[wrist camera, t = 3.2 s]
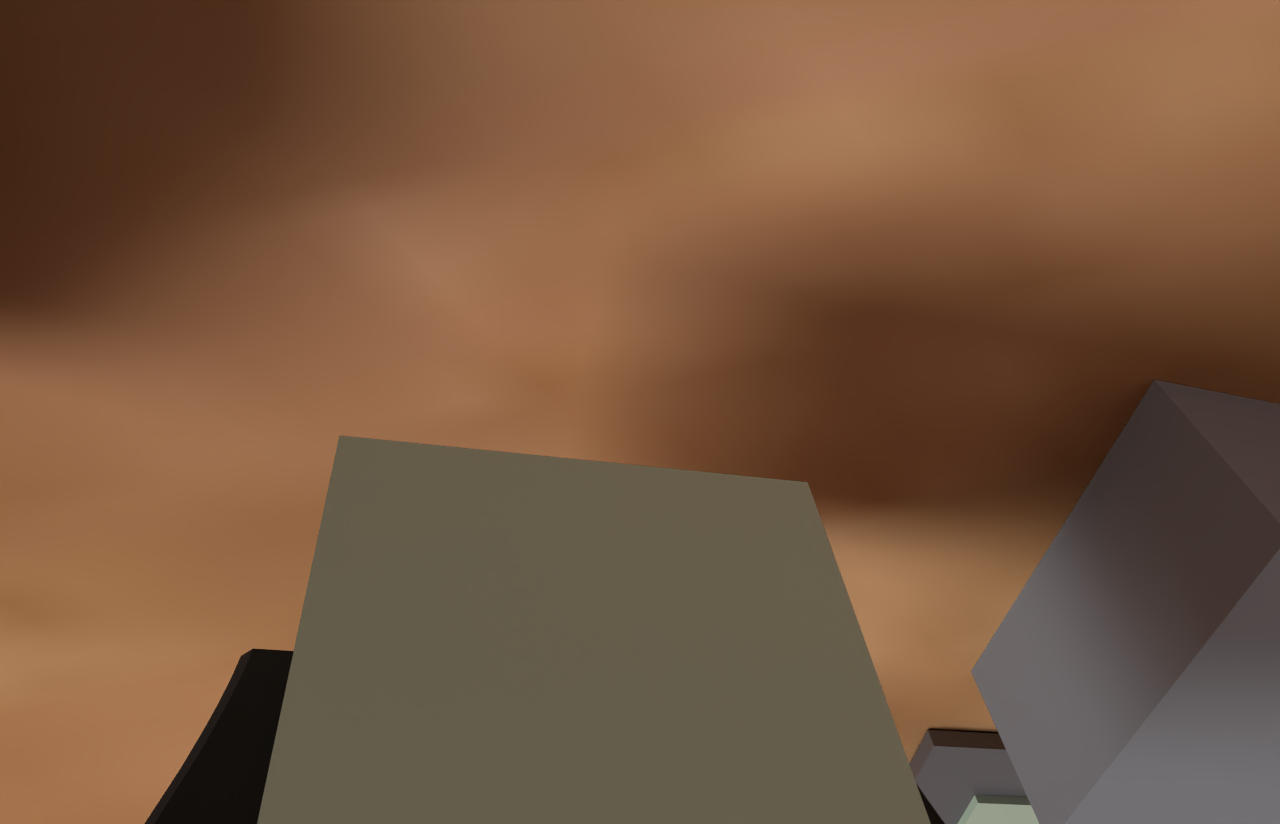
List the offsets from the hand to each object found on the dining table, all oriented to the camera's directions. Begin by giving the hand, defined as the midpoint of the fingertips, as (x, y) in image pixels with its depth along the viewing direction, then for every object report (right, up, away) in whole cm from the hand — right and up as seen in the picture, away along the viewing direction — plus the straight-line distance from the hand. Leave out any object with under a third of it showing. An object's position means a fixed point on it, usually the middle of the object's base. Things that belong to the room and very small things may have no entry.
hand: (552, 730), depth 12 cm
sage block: (0, +1, +1) cm, 2 cm away
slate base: (+12, +1, +9) cm, 15 cm away
